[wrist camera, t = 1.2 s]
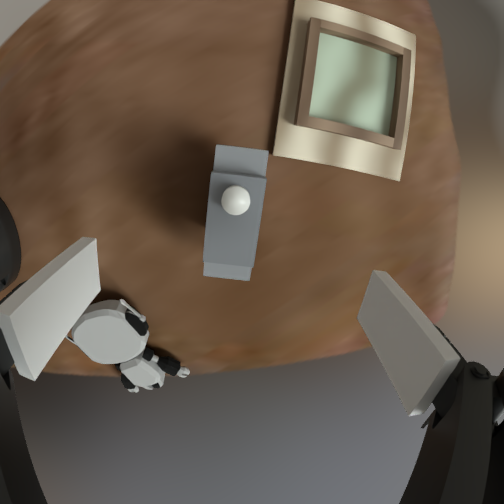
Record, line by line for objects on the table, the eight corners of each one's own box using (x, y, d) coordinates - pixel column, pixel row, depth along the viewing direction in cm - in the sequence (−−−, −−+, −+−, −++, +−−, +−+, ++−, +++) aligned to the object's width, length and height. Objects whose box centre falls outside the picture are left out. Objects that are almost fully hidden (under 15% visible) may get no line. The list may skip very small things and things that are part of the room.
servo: (210, 248, 31) (199, 290, 23) (221, 143, 27) (212, 145, 19) (247, 252, 31) (250, 295, 23) (262, 148, 27) (272, 152, 19)
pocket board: (272, 154, 27) (275, 156, 25) (294, -2, 21) (298, -11, 19) (396, 180, 29) (406, 183, 26) (412, 37, 22) (423, 32, 20)
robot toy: (197, 358, 38) (128, 277, 32) (195, 383, 34) (116, 299, 28) (134, 380, 40) (68, 312, 34) (128, 402, 36) (54, 333, 30)
